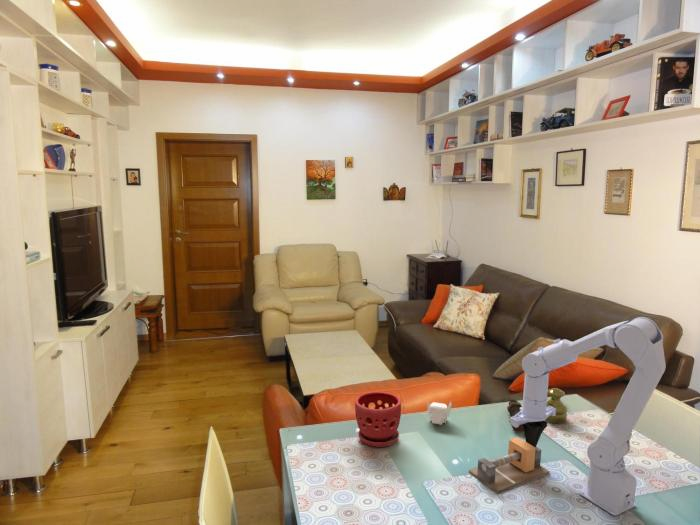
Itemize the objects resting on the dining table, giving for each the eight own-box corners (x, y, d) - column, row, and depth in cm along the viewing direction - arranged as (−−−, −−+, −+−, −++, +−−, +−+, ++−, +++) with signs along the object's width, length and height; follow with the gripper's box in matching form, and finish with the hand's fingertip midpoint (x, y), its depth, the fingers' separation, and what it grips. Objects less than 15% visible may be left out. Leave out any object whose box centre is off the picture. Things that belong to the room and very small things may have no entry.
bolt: (515, 415, 165) (521, 436, 150) (501, 406, 165) (506, 426, 150) (525, 401, 163) (533, 421, 149) (512, 392, 164) (518, 411, 149)
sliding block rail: (549, 473, 128) (551, 455, 128) (497, 493, 120) (498, 474, 119) (519, 454, 137) (520, 437, 136) (468, 472, 129) (469, 454, 128)
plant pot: (400, 429, 150) (401, 391, 148) (400, 452, 137) (401, 411, 135) (356, 426, 151) (357, 388, 150) (352, 449, 139) (353, 408, 137)
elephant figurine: (423, 427, 151) (424, 405, 150) (427, 413, 161) (428, 392, 159) (448, 431, 149) (450, 409, 148) (452, 417, 158) (453, 395, 157)
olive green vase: (536, 415, 161) (538, 385, 159) (555, 412, 163) (558, 383, 161) (551, 426, 154) (554, 395, 152) (571, 422, 156) (574, 392, 154)
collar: (533, 469, 128) (535, 447, 127) (525, 472, 127) (527, 450, 126) (515, 458, 134) (517, 437, 133) (507, 460, 132) (509, 439, 131)
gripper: (542, 386, 136) (538, 432, 138) (502, 396, 129) (499, 445, 131) (564, 396, 130) (559, 444, 132) (524, 407, 123) (520, 458, 125)
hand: (531, 446), depth 131 cm, fingers closed
